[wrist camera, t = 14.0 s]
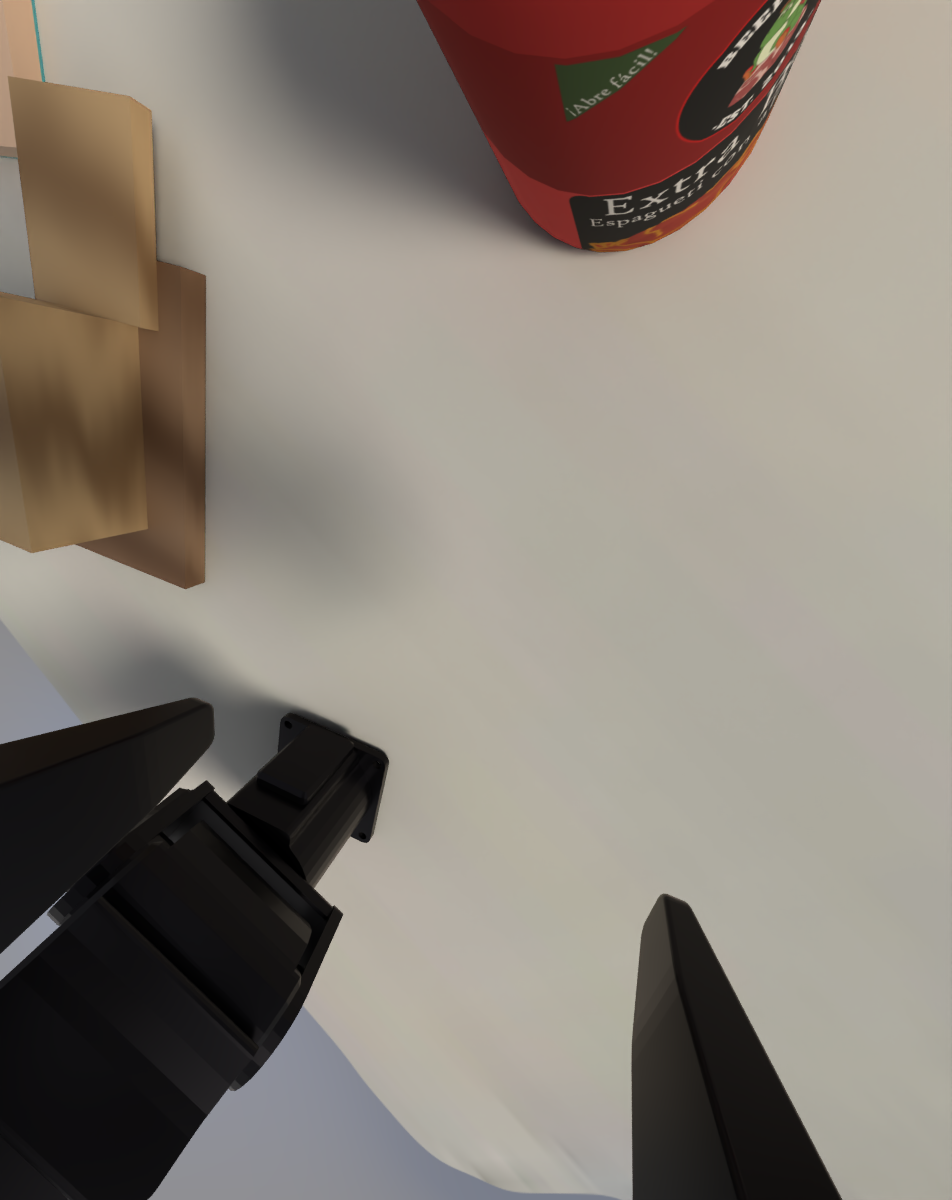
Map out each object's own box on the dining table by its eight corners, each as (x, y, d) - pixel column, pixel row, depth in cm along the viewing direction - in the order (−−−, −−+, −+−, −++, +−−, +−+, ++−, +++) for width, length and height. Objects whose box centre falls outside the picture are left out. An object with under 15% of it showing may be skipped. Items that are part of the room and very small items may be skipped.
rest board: (204, 582, 25) (185, 589, 24) (88, 535, 26) (65, 540, 25) (205, 275, 19) (180, 266, 18) (58, 239, 21) (26, 228, 20)
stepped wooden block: (165, 535, 23) (52, 561, 18) (78, 502, 24) (-49, 519, 20) (151, 110, 17) (-28, -8, 12) (32, 90, 18) (-173, -26, 13)
